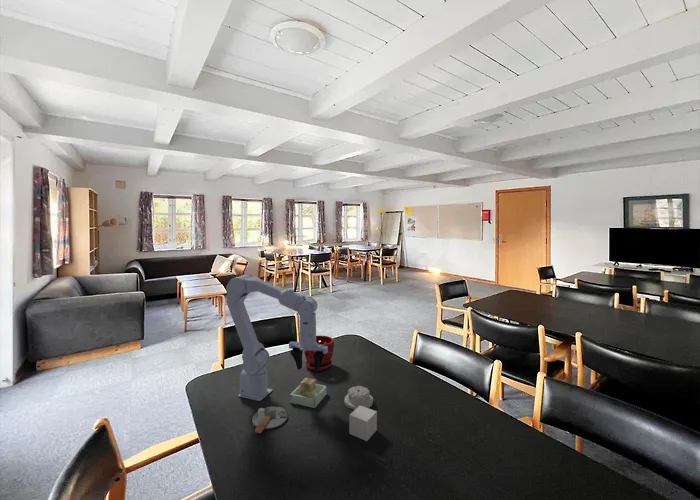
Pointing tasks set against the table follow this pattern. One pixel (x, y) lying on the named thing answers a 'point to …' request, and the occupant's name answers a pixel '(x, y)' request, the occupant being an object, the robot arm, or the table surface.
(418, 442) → the table surface
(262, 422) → the crank
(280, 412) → the dial plate
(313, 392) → the brown block
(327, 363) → the plant pot
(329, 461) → the table surface
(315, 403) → the tray
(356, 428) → the light grey cube
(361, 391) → the mechanical component
